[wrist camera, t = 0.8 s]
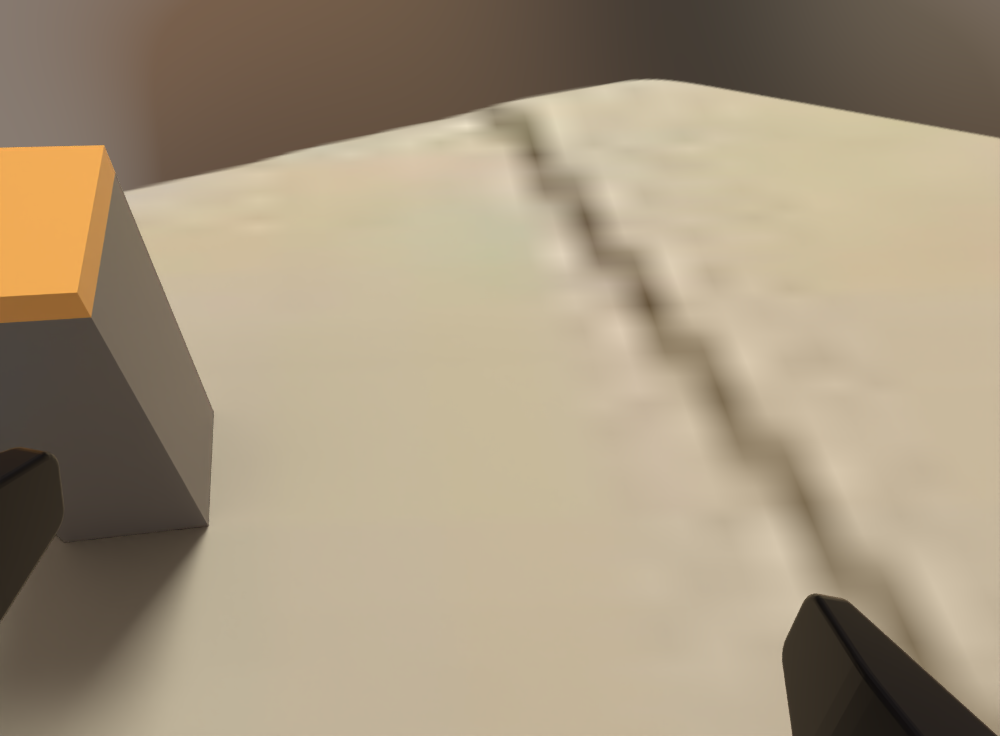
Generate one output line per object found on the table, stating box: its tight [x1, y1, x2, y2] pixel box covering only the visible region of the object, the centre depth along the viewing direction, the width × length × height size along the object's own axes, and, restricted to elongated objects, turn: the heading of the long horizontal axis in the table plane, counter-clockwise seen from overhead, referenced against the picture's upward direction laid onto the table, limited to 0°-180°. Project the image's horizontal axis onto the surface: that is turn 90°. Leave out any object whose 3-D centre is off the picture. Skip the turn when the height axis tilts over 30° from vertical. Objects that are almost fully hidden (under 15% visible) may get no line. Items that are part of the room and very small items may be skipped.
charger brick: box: [0, 145, 214, 542], centre depth 20 cm, size 4×4×12 cm
